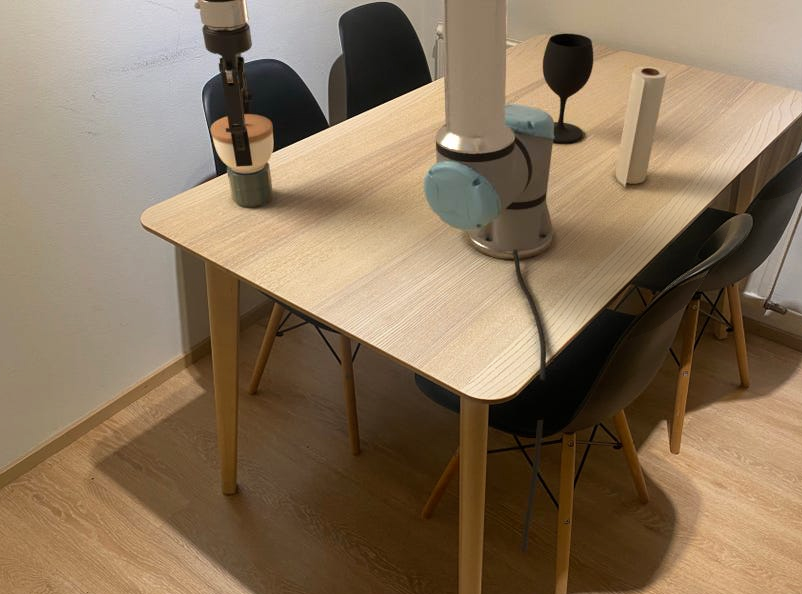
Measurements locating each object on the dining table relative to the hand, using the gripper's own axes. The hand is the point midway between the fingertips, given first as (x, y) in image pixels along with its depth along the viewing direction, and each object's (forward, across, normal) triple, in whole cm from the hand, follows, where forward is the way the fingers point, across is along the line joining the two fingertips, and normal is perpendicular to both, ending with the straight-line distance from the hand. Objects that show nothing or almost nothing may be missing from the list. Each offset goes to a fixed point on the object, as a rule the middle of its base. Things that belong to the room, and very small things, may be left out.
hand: (245, 151), depth 139 cm
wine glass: (-1, -21, +66) cm, 69 cm away
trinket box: (+3, 0, 0) cm, 3 cm away
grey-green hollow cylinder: (+10, 0, 0) cm, 10 cm away
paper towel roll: (+10, +1, +74) cm, 75 cm away
